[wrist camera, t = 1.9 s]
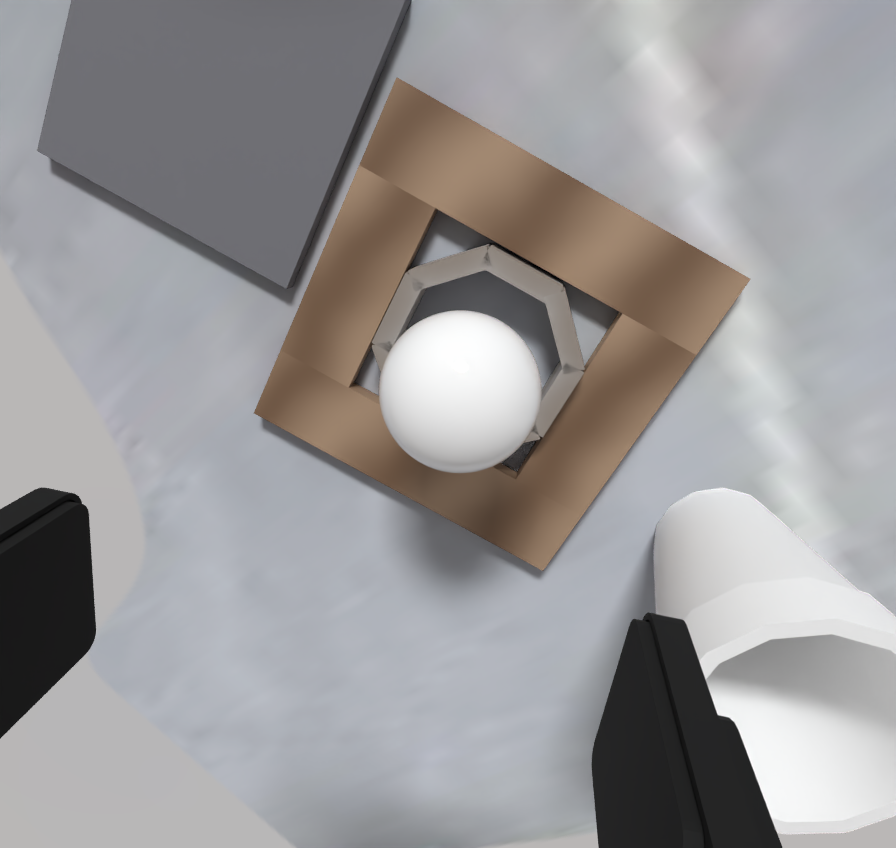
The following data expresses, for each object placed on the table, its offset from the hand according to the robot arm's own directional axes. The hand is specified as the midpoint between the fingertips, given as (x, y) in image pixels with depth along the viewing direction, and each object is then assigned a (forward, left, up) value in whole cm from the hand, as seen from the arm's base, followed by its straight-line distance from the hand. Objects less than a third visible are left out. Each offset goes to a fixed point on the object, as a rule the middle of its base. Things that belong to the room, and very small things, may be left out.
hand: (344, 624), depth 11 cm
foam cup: (-16, +3, -23) cm, 28 cm away
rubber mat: (+17, -5, -23) cm, 29 cm away
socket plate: (0, 0, -23) cm, 23 cm away
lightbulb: (0, 0, -23) cm, 23 cm away
